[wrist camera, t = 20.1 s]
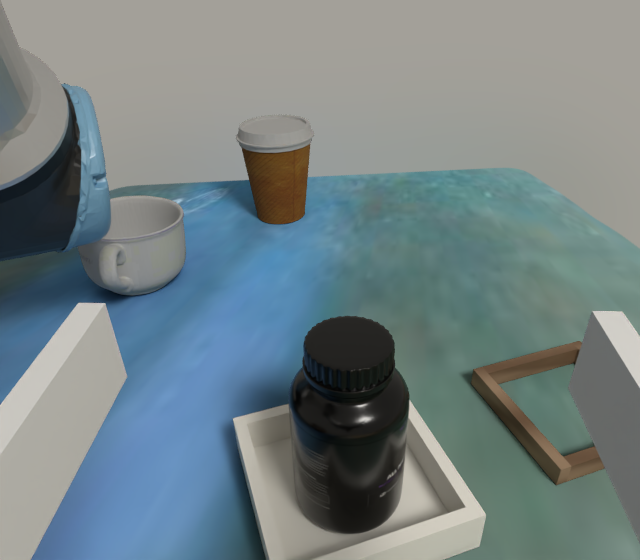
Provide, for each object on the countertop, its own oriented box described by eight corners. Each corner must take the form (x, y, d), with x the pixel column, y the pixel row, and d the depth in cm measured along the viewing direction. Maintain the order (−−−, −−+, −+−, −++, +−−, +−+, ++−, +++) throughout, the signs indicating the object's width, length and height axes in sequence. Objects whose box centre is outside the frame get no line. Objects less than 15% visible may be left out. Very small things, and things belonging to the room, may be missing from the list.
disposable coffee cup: (244, 203, 75) (234, 116, 68) (312, 197, 76) (308, 111, 69) (246, 233, 67) (235, 138, 60) (321, 226, 68) (318, 132, 61)
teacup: (119, 253, 63) (102, 190, 59) (207, 257, 62) (196, 193, 57) (53, 323, 51) (27, 251, 47) (160, 330, 50) (142, 256, 46)
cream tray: (237, 448, 38) (232, 418, 36) (392, 405, 41) (393, 376, 39) (280, 618, 28) (276, 588, 26) (479, 546, 31) (486, 514, 30)
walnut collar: (471, 383, 43) (473, 369, 42) (575, 354, 45) (579, 340, 44) (556, 485, 34) (561, 469, 34) (677, 443, 37) (684, 428, 36)
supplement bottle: (415, 529, 32) (432, 378, 25) (301, 547, 31) (289, 396, 24) (387, 440, 37) (394, 298, 31) (290, 453, 37) (277, 311, 30)
